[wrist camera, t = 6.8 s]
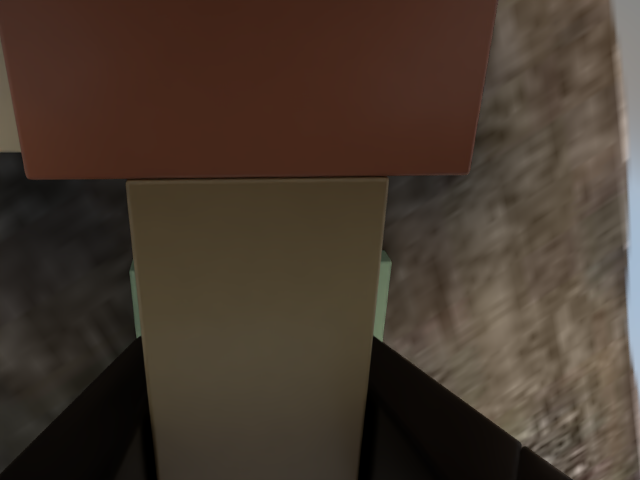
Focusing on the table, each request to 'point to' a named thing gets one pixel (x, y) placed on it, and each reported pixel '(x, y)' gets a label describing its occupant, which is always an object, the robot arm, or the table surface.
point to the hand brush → (249, 193)
